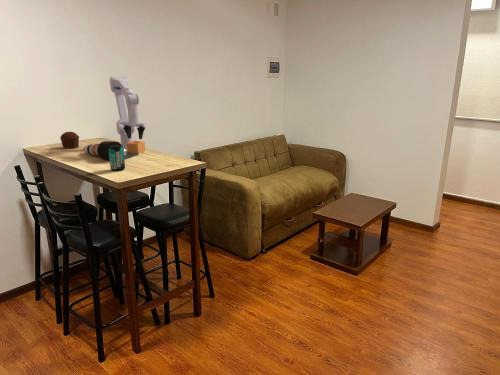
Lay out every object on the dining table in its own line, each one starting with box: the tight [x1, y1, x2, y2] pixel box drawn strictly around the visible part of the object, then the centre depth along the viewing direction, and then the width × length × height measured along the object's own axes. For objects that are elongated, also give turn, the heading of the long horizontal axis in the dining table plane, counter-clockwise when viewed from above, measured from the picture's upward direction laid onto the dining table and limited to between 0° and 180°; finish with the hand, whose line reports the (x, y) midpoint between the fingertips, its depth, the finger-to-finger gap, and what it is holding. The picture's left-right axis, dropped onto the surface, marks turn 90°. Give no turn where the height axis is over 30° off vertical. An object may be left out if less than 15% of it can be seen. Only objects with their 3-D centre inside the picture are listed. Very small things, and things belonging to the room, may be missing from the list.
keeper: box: [123, 149, 140, 160], centre depth 227 cm, size 14×11×4 cm
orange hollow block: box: [126, 140, 146, 154], centre depth 238 cm, size 8×8×6 cm
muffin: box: [59, 131, 80, 150], centre depth 251 cm, size 12×11×10 cm
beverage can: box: [108, 145, 126, 172], centre depth 196 cm, size 7×7×12 cm
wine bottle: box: [82, 140, 123, 161], centre depth 226 cm, size 10×34×10 cm, turn 47°
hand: (135, 138), depth 234 cm, fingers open, 7 cm apart
